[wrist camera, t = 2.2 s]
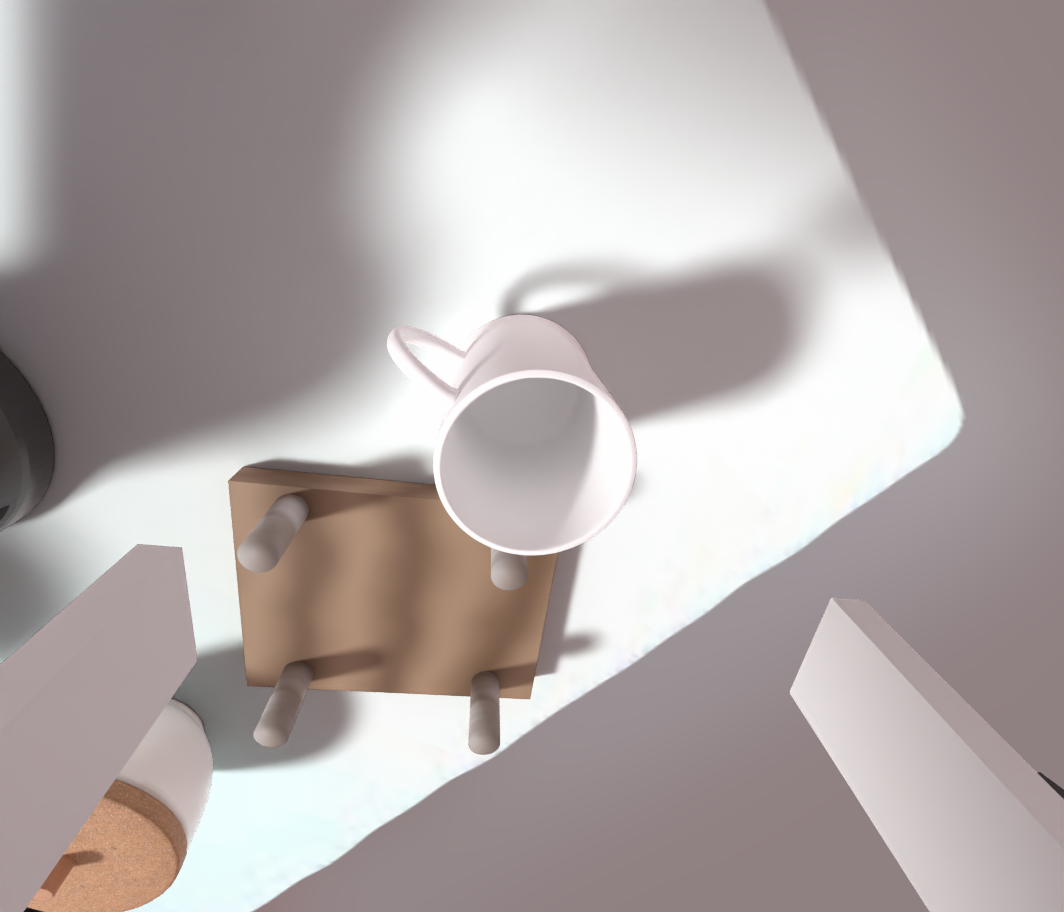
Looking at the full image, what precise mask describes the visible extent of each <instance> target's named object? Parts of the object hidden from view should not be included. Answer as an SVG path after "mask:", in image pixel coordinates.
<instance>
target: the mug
mask: <svg viewBox="0 0 1064 912" xmlns="http://www.w3.org/2000/svg"><path fill="white" fill-rule="evenodd" d="M404 342H407V343H411V344H414V345H417V346H420V347H422V348H424V349H427V350H429V351H431V352H433V353H435V354H437V355H438V356H440V357H442V358H444V359H445V360H447V361H448V362H450V363H451V364H452V367H451V372H450V378H449V385H448V384H447V383H445V382H444V381H442V380H441V379H440V378H438V377H437V376H436V375H435V374H433V373H432V372H431V371H430V370H429V369H428V368H427V367H425V366H424V365H423V364H422V363H421V362H420V361H419V360H418V359H417V358H416V357H415V356H414V355H413V354H412V352H411V351H410V350H409V349H408V348H407V346H406V345H405V343H404ZM387 348H388V351H389V354H390V356H391V357H392V359H393V360H394V362H395V363H396V365H397V366H398V367H399V368H400V370H401V371H402V372H403V373H404V374H405V375H406V376H407V377H408V378H409V379H410V380H411V381H412V382H413V383H414V384H415V385H416V386H417V387H418V388H419V389H421V390H422V391H423V392H424V393H425V394H426V395H428V396H429V397H430V398H431V399H433V400H434V401H435V402H436V403H437V404H438V405H440V406H441V407H442V408H443V410H444V415H443V418H442V422H441V426H440V430H439V434H438V437H437V441H436V446H435V451H434V461H433V469H434V479H435V484H436V488H437V491H438V494H439V497H440V499H441V502H442V504H443V506H444V507H445V509H446V511H447V512H448V514H449V515H450V517H451V518H452V519H453V520H454V522H455V523H456V524H457V525H458V526H459V527H460V528H461V529H462V530H463V531H465V532H466V533H467V534H468V535H470V536H471V537H472V538H474V539H475V540H477V541H479V542H481V543H482V544H484V545H486V546H489V547H491V548H494V549H496V550H499V551H503V552H507V553H511V554H518V555H546V554H552V553H557V552H561V551H564V550H568V549H570V548H573V547H575V546H578V545H580V544H582V543H584V542H586V541H587V540H589V539H591V538H592V537H594V536H595V535H597V534H598V533H599V532H601V531H602V530H603V529H604V528H605V527H606V526H607V525H608V524H609V523H610V522H611V521H612V520H613V519H614V518H615V517H616V516H617V514H618V513H619V512H620V510H621V509H622V507H623V506H624V504H625V502H626V500H627V498H628V496H629V494H630V492H631V489H632V486H633V483H634V479H635V474H636V467H637V452H636V444H635V439H634V436H633V432H632V429H631V427H630V425H629V422H628V420H627V418H626V417H625V415H624V413H623V412H622V410H621V409H620V407H619V406H618V404H617V403H616V401H615V400H614V399H613V397H612V396H611V395H610V393H609V392H608V390H607V389H606V388H605V386H604V385H603V383H602V382H601V381H600V379H599V378H598V377H597V375H596V374H595V372H594V371H593V370H592V368H591V367H590V365H589V362H588V359H587V357H586V354H585V352H584V351H583V349H582V347H581V346H580V344H579V343H578V342H577V340H576V339H575V338H574V337H573V336H572V335H571V334H570V333H569V332H568V331H567V330H565V329H564V328H563V327H561V326H560V325H558V324H556V323H554V322H552V321H550V320H547V319H545V318H542V317H538V316H532V315H510V316H505V317H501V318H498V319H495V320H493V321H490V322H488V323H486V324H485V325H483V326H481V327H480V328H479V329H477V330H476V331H475V332H473V333H472V334H471V335H470V336H469V337H468V338H467V339H466V341H465V342H464V343H463V344H462V346H461V347H460V349H458V348H456V347H455V346H453V345H451V344H449V343H448V342H446V341H444V340H442V339H440V338H438V337H436V336H434V335H432V334H430V333H428V332H426V331H423V330H421V329H418V328H415V327H411V326H398V327H396V328H395V329H393V330H392V331H391V333H390V334H389V336H388V339H387Z"/></svg>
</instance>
